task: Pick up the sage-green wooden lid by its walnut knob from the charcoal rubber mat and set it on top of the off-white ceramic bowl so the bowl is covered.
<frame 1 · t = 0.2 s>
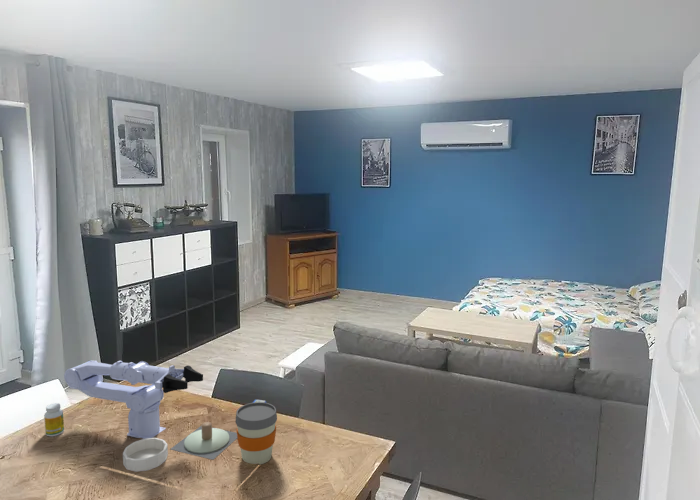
hand: (194, 381, 149), 21 cm above the table, tool horizontal, fingers open, 7 cm apart
reusable coffee cup: (256, 457, 146), on the table
lid: (207, 441, 153), point 1 cm above the table, touching mat
bowl: (146, 460, 143), on the table
medicine box: (256, 428, 163), on the table
supplement bottle: (55, 433, 158), on the table
mat: (207, 442, 153), on the table
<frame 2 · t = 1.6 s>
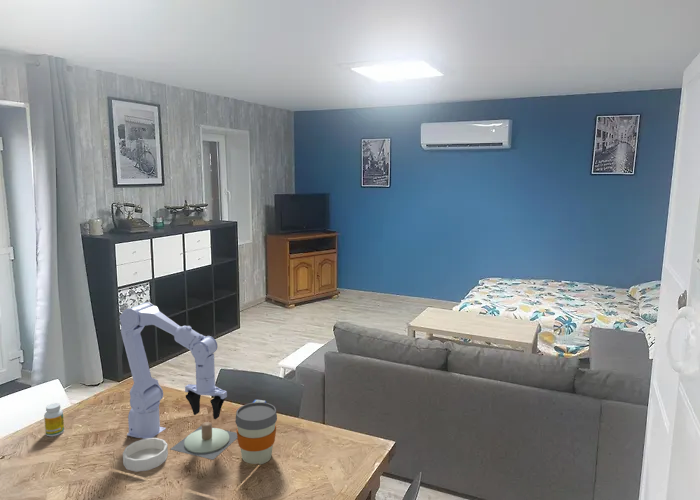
hand: (206, 415, 152), 9 cm above the table, tool pointing down, fingers open, 7 cm apart
nothing on the table moved.
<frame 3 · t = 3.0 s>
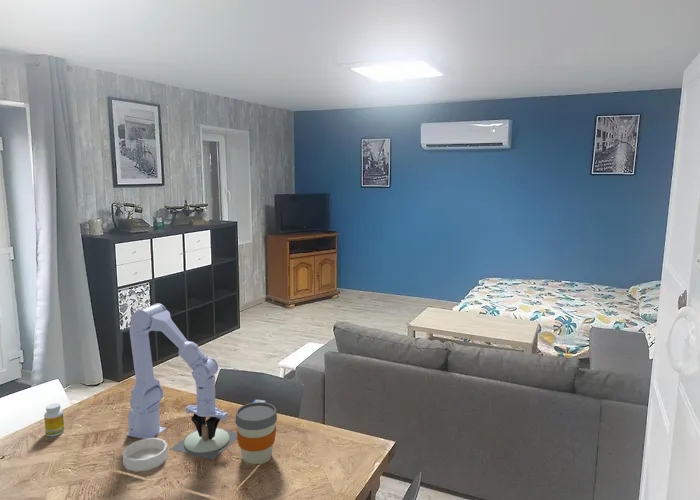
hand: (207, 436, 153), 2 cm above the table, tool pointing down, fingers closed on lid, 3 cm apart
lid: (207, 441, 153), point 1 cm above the table, touching gripper, mat
everything else where it was.
when the fingers open (7 cm above the table, at t = 6.1 s): lid drops 1 cm, resting on bowl.
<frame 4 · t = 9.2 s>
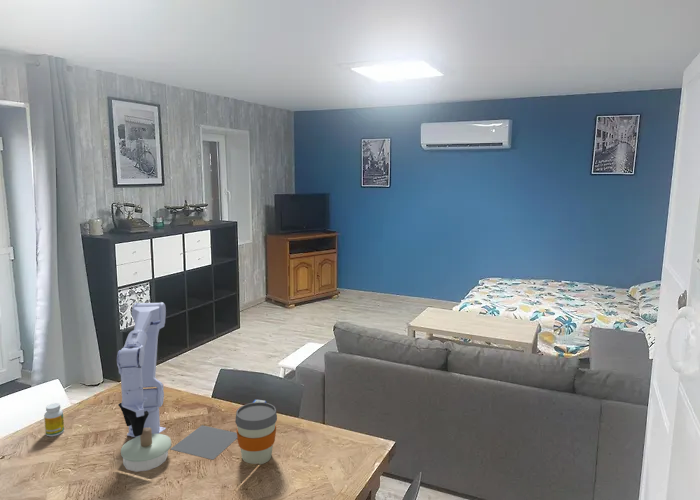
hand: (134, 430, 141), 10 cm above the table, tool pointing down, fingers open, 7 cm apart
lid: (146, 448, 142), point 4 cm above the table, touching bowl
bowl: (146, 460, 143), on the table, touching lid
everything else where it was.
at the end: lid 0.3 cm from the bowl (horizontally); lid point 4.0 cm above the table; lid tilted 0° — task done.
